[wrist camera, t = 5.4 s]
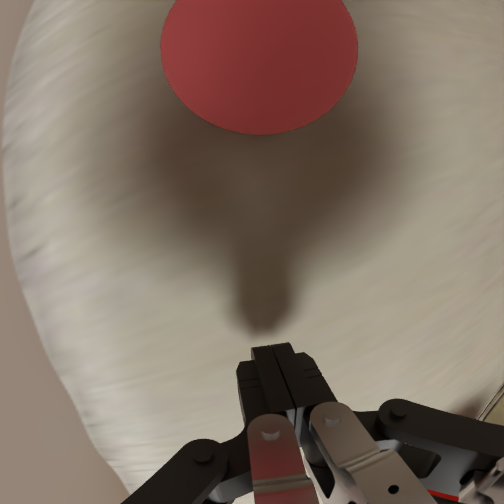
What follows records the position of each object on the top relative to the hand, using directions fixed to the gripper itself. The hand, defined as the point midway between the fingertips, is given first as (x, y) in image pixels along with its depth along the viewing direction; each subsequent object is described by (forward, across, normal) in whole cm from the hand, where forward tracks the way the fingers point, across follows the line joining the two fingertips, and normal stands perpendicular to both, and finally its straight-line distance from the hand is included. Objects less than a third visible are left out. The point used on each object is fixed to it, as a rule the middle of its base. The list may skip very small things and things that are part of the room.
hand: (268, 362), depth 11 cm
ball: (-1, 0, -11) cm, 11 cm away
